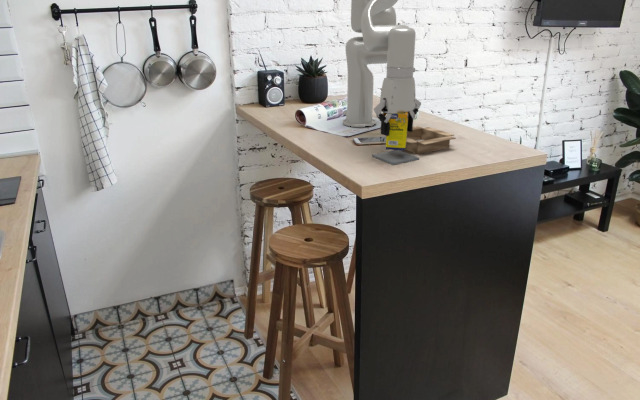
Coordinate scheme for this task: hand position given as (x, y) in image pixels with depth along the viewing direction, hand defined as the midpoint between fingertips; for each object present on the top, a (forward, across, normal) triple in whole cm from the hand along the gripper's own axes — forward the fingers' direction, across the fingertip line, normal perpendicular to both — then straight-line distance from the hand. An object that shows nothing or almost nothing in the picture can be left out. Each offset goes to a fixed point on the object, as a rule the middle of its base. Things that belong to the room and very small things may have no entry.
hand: (396, 132), depth 154 cm
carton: (+8, -15, -6) cm, 18 cm away
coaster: (+8, 0, 0) cm, 8 cm away
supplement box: (+5, 0, 0) cm, 5 cm away
